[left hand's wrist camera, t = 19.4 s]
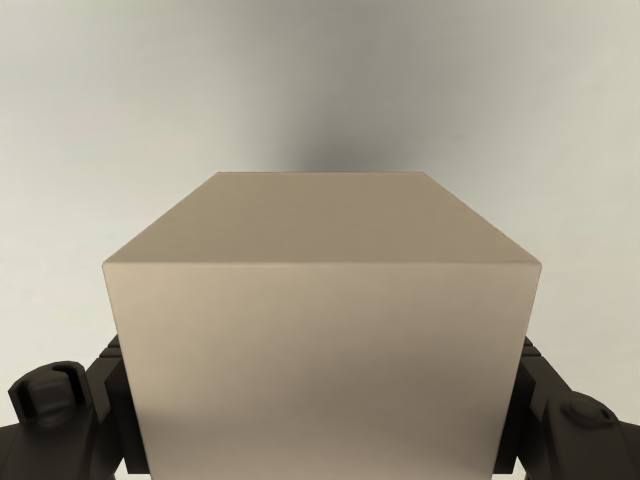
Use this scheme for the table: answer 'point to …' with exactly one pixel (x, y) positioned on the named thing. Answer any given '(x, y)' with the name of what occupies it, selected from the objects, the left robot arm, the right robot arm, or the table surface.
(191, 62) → the table surface
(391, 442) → the block
